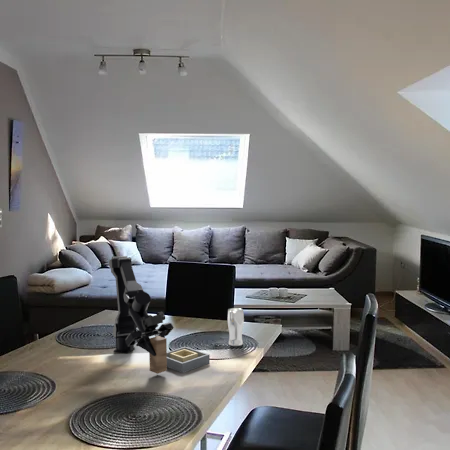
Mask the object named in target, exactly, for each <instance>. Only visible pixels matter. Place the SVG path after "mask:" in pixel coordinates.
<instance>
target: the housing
mask: <svg viewBox="0 0 450 450" xmlns="http://www.w3.org/2000/svg"><path fill="white" fill-rule="evenodd" d="M210 360H211V359H210V354H209V353H207V352H204V351H201V350H196V349H194V348H191V347H187V346H183V347H180V348H179V347H178V348H176V349H173V350H170V351H167V368H169V369H171V370H173V371H177V372H180V373H181V374H182V373H186V372H188V371H191V370H194V369H197V368H200V367H203V366H206V365H208V364H210V362H211V361H210Z"/></svg>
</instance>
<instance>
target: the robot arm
mask: <svg viewBox="0 0 450 450" xmlns="http://www.w3.org/2000/svg"><path fill="white" fill-rule="evenodd" d="M132 264H133V263H132V257H128V256H127V255H121V256H111V258H110V259H109V260H108V266H109V268H110V272H111V274H112V275H113V276H114V278H115V287H116V299H117V310H118V313H117V315H116V317H115V320H114V325H113V327H112V335H113V338H114V339H115V349H113V352H115V353H116V352H117V353H122V354H123V353H124V354H128V353H130V352H132V351H134V350H135V349H136V347H140V348H141V349H143V350H145V351H146V352H147V353H150V354H152V355H153V356H156V353H155V350H154V348H153V346H152V344H151V343H150V340H149V338H151V337H153V336H154V337H157V336H161V337H164V338H166V337H167V336H168V335H169V334H170V333H171V332H172V330H174V326H173V323H171V322H166V323H164V321H165V320H166V315H165V313H164V312H163V311H159V312H157V313H156V315H151V314H148V312H147V311H148V307H149V306H150V303H151V301H152V297H151V295H150V294H149V293H148V292H146V291H144V288H143V287H142V285H141V284H140V283H139V282H137V279H136V276H135V272H134V270H133V266H132ZM159 324H161V325H160V326H159ZM158 327H159V328H158ZM135 344H136V345H135ZM135 346H136V347H135Z"/></svg>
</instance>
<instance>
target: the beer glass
mask: <svg viewBox="0 0 450 450" xmlns="http://www.w3.org/2000/svg"><path fill="white" fill-rule="evenodd" d="M244 317H245V315H244V309H243V308H241V307H240V308H239V307H232V308H228V309H227V326H228V328H227V329H228V333H229V337H228V345H229V346H232V347H240V346H242V345H243V344H244V343H243V331H244V325H245V324H244V322H245V318H244Z"/></svg>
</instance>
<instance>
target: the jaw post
mask: <svg viewBox="0 0 450 450" xmlns="http://www.w3.org/2000/svg"><path fill="white" fill-rule="evenodd" d="M149 340H150V343H151V344H152V346H153V348H154V350H155V353H156V356H153V355H152V354H150V353H149V352H148V353H149V360H148V361H149V371H150V372H151V373H154V374H156V375H159V374H161V373H164V372H167V369H168V367H167V352H168V351H167V348H168V347H167V346H168V344H167V338H166V337H165V338H164V337H161V336H157V337H155V336H154V337H153V336H152V337H149Z"/></svg>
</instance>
